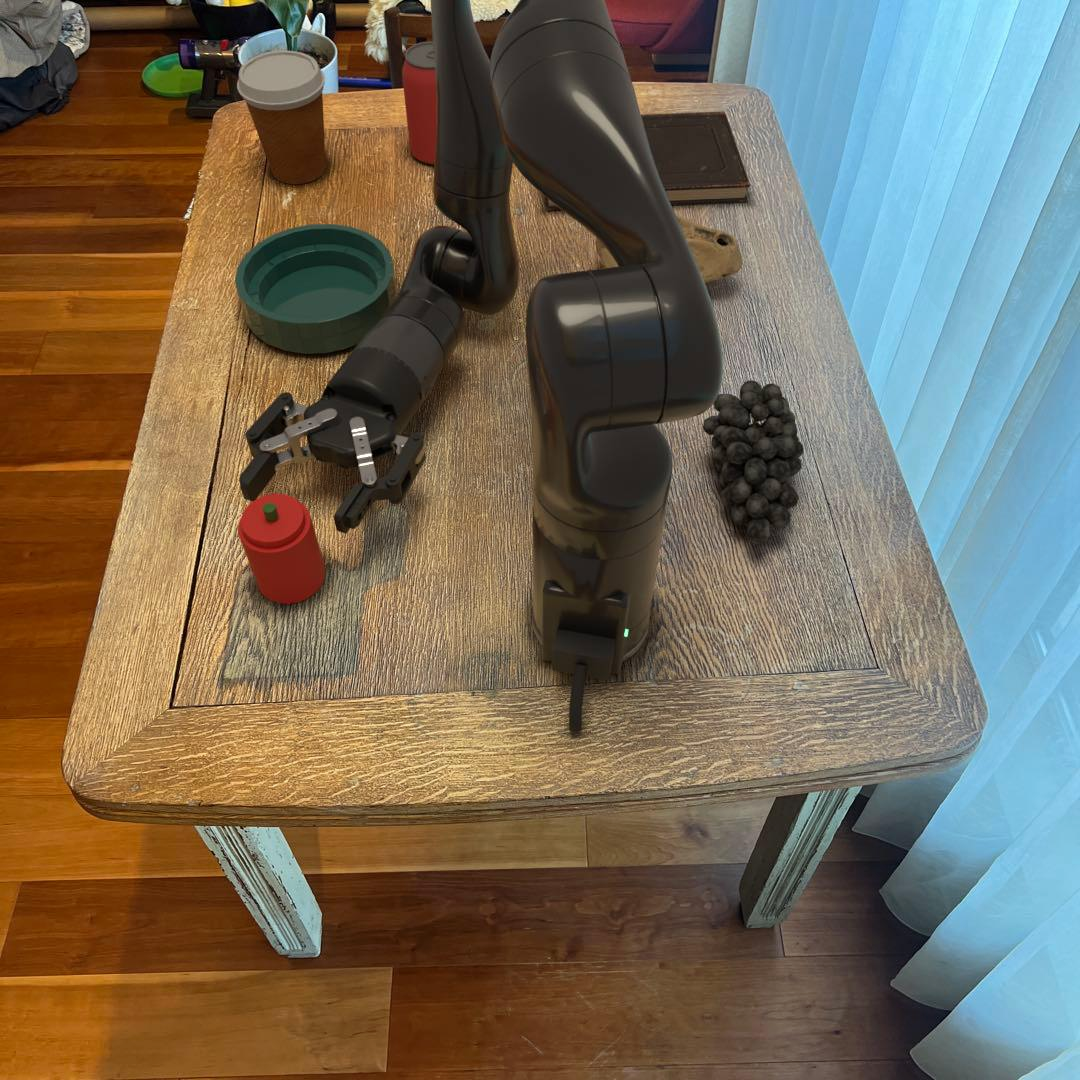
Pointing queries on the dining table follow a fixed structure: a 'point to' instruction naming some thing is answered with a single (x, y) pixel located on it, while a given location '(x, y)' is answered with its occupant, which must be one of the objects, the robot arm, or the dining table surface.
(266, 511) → the red cylinder
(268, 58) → the disposable coffee cup
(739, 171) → the hardcover book
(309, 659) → the dining table surface
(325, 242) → the bowl
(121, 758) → the dining table surface
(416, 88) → the beer can
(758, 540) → the fruit
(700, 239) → the oil lamp
